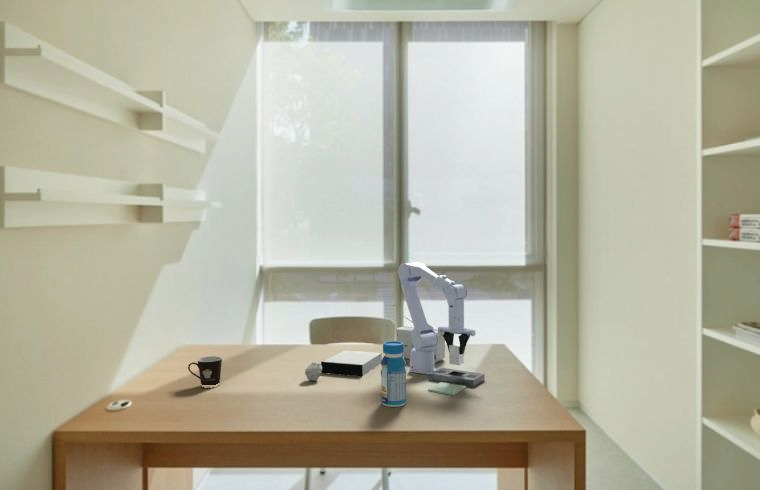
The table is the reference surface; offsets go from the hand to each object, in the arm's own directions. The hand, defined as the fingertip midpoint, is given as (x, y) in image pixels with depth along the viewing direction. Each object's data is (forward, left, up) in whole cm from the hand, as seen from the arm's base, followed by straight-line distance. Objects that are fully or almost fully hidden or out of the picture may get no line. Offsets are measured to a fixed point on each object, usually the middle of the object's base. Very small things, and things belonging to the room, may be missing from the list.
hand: (456, 353), depth 209 cm
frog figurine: (-46, -28, -10) cm, 55 cm away
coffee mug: (-76, -53, -10) cm, 93 cm away
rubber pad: (+2, -12, -10) cm, 16 cm away
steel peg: (0, 0, -4) cm, 4 cm away
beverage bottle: (-6, -35, -10) cm, 37 cm away
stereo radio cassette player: (-28, +22, -11) cm, 37 cm away
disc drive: (-44, -5, -11) cm, 46 cm away
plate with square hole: (0, 0, -10) cm, 10 cm away
